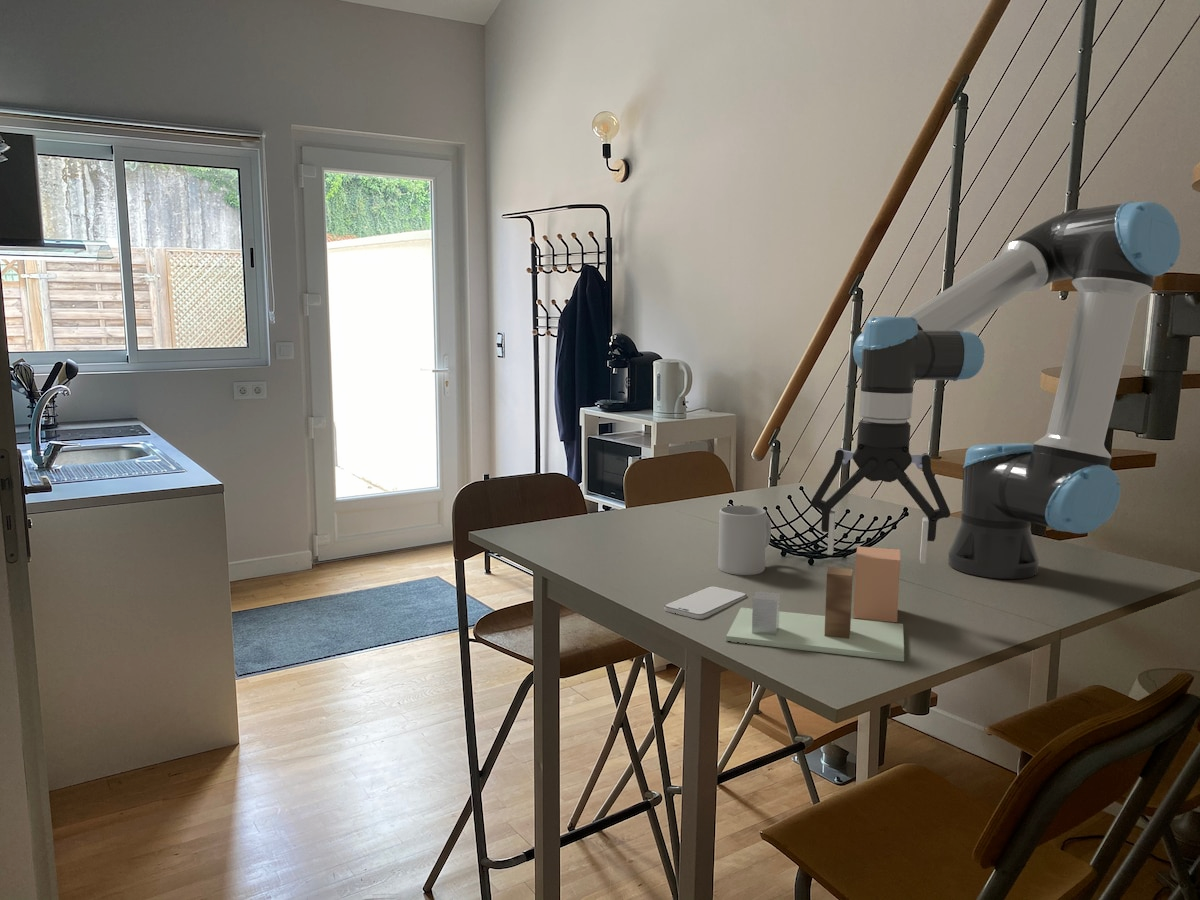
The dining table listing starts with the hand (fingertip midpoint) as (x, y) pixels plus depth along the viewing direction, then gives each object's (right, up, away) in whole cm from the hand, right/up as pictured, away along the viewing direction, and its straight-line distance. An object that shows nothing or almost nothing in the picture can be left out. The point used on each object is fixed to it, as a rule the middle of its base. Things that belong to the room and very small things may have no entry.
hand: (875, 557), depth 136 cm
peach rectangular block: (0, -9, +2) cm, 9 cm away
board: (-11, -10, -8) cm, 17 cm away
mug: (-15, -5, +27) cm, 31 cm away
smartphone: (-25, -9, +7) cm, 28 cm away
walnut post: (-8, -11, -9) cm, 16 cm away
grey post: (-19, -10, -8) cm, 23 cm away
